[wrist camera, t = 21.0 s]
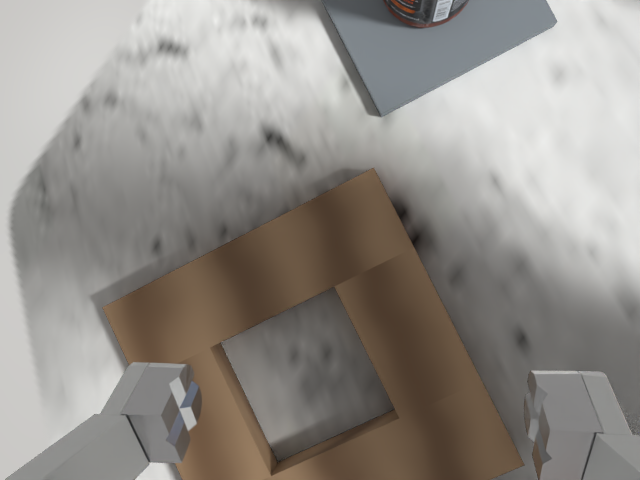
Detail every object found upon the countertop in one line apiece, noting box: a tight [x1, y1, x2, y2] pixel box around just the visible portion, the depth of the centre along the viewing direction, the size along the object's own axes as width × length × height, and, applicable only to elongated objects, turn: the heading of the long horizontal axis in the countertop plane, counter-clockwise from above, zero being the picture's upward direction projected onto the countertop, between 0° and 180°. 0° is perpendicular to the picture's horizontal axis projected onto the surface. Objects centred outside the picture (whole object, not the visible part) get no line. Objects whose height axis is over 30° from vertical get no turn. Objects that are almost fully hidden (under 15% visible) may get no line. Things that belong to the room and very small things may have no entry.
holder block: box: [102, 168, 524, 480], centre depth 33 cm, size 20×20×2 cm
